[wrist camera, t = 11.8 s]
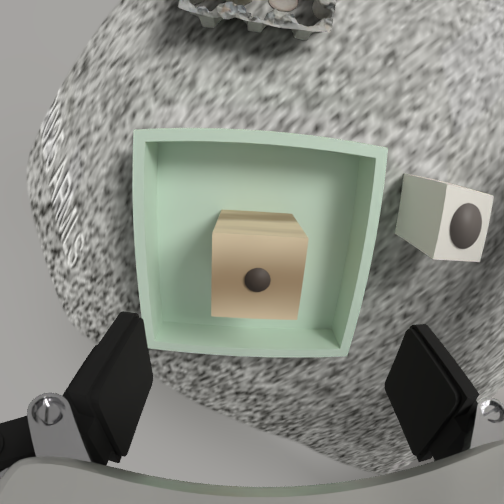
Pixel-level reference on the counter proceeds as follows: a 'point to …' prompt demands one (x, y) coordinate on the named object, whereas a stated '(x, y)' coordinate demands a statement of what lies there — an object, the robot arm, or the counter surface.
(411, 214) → the ivory block
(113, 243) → the counter surface
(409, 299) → the counter surface
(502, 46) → the counter surface
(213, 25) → the egg carton
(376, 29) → the counter surface
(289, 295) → the maple block
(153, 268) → the tray
